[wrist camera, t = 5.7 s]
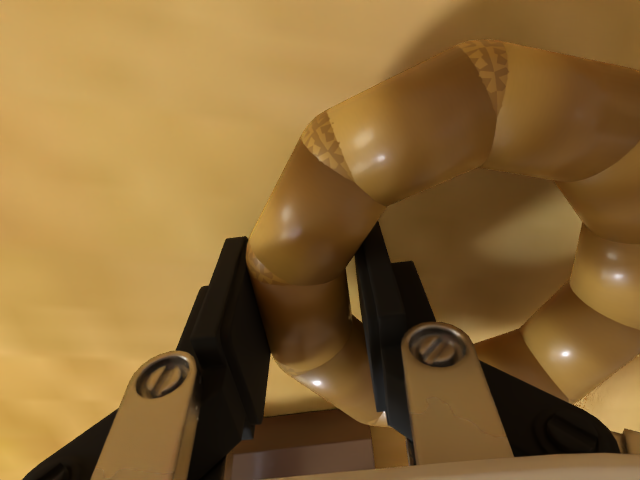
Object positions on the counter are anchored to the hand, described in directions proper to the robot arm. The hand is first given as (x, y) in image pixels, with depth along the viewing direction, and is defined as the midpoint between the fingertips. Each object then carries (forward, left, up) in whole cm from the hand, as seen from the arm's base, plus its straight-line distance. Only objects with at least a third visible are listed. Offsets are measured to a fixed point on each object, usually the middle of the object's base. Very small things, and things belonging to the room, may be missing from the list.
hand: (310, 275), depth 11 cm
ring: (-4, 0, +1) cm, 4 cm away
